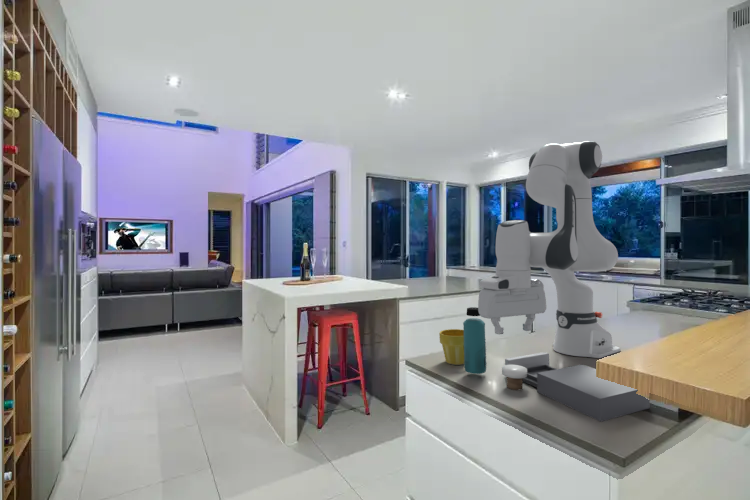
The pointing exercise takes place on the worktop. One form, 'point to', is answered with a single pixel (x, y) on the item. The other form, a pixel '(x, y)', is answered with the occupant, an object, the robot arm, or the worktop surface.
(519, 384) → the disc stand
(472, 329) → the beverage bottle
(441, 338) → the plant pot
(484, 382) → the worktop surface
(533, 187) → the robot arm
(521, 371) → the disc
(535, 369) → the tray
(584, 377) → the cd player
